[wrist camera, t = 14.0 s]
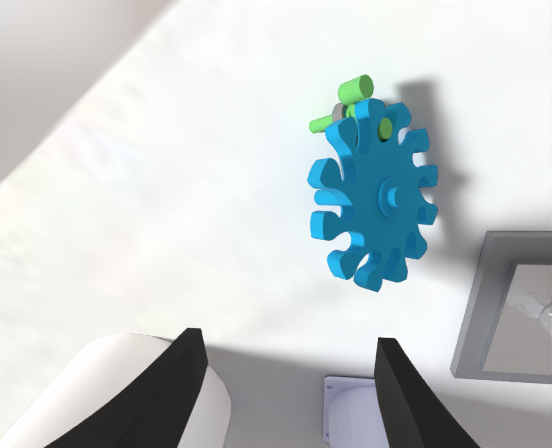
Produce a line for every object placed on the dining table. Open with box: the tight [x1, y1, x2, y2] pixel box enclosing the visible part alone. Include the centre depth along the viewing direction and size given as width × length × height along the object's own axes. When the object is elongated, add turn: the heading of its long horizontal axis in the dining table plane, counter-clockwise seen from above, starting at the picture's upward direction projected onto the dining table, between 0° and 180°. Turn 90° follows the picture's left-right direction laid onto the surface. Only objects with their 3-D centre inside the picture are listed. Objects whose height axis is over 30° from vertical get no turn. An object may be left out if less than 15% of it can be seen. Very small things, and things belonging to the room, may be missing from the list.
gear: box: [307, 75, 438, 292], centre depth 17 cm, size 11×6×10 cm
